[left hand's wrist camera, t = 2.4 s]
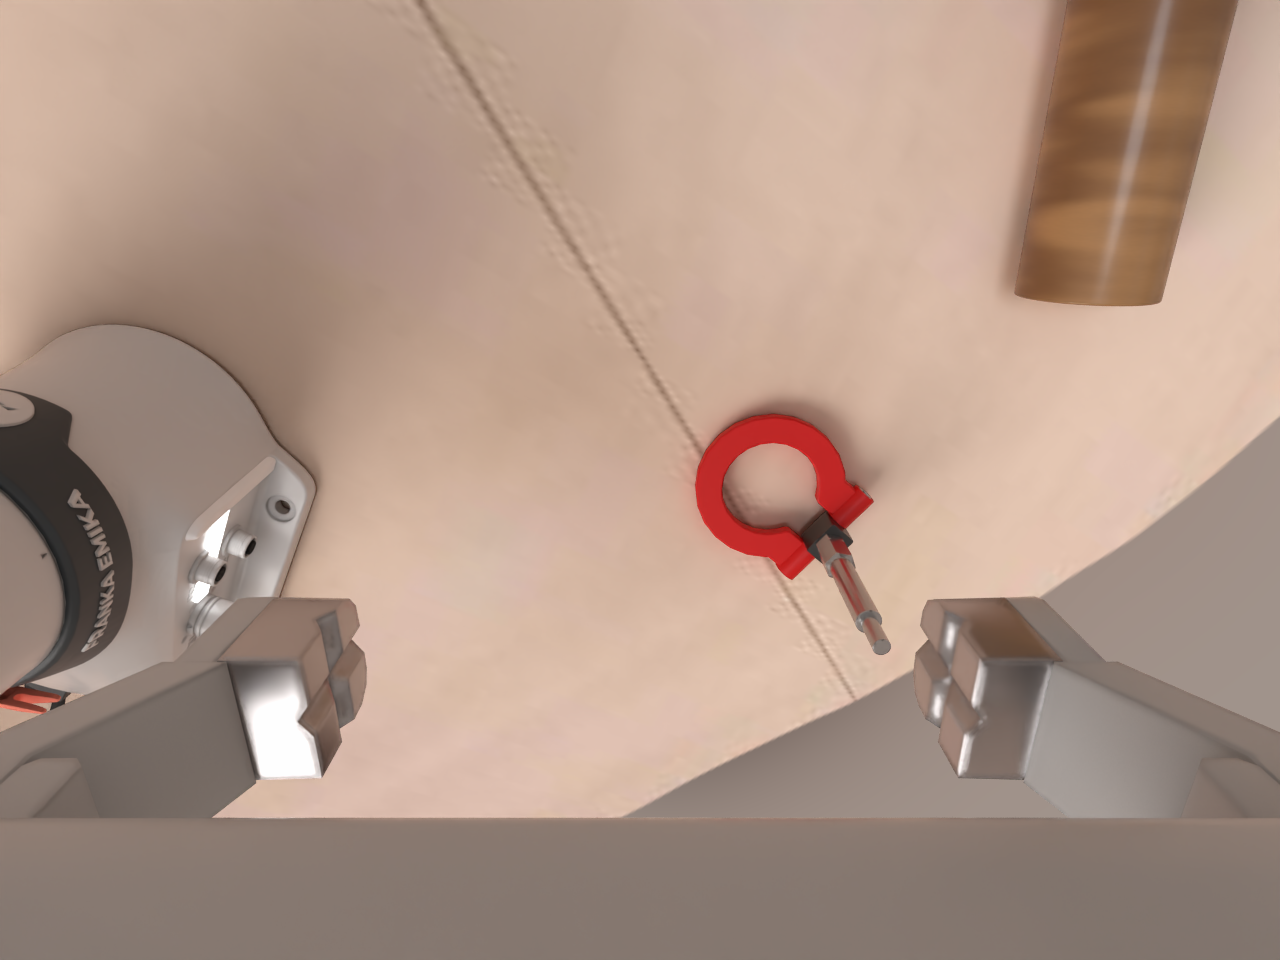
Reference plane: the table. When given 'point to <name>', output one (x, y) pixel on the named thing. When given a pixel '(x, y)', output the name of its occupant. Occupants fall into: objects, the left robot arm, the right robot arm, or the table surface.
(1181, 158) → the rod
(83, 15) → the table surface
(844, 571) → the tow hook
